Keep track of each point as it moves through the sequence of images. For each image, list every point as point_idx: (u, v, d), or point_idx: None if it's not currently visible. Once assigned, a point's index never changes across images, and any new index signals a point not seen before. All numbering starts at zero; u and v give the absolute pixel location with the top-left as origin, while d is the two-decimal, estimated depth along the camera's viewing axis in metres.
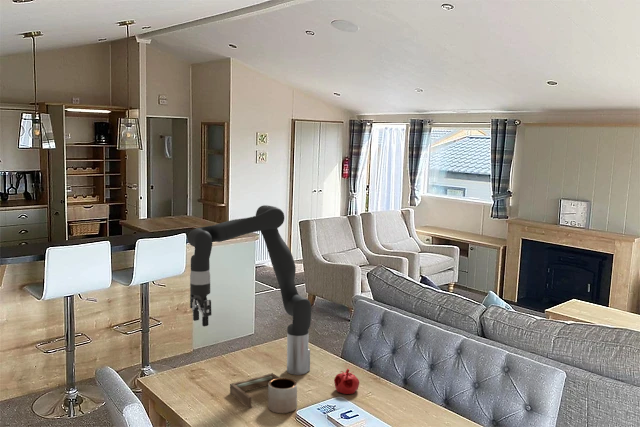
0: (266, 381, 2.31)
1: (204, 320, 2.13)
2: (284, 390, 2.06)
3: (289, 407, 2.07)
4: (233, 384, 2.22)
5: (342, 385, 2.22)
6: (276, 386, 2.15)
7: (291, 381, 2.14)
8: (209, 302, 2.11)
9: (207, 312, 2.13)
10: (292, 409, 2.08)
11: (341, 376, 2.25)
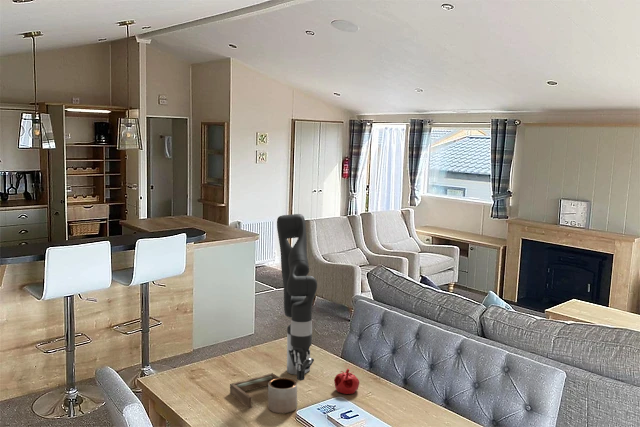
0: (266, 381, 2.31)
1: (300, 374, 1.99)
2: (284, 390, 2.06)
3: (289, 407, 2.07)
4: (233, 384, 2.22)
5: (342, 385, 2.22)
6: (276, 386, 2.15)
7: (291, 381, 2.14)
8: (311, 361, 1.95)
9: None
10: (292, 409, 2.08)
11: (341, 376, 2.25)
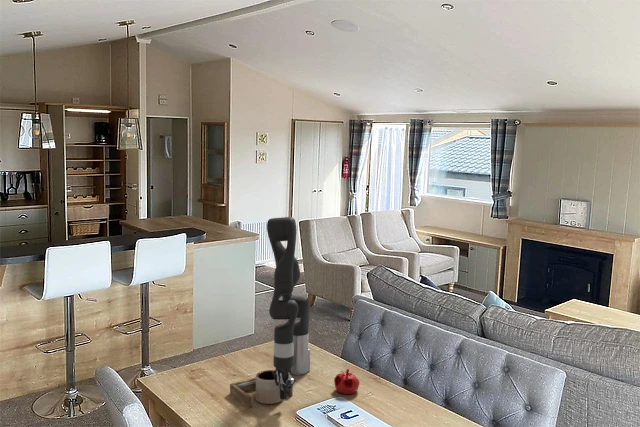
0: None
1: (283, 394, 2.09)
2: (271, 382, 2.13)
3: (276, 398, 2.14)
4: (233, 384, 2.22)
5: (342, 385, 2.22)
6: (264, 378, 2.22)
7: None
8: (293, 382, 2.06)
9: None
10: (279, 400, 2.15)
11: (341, 376, 2.25)
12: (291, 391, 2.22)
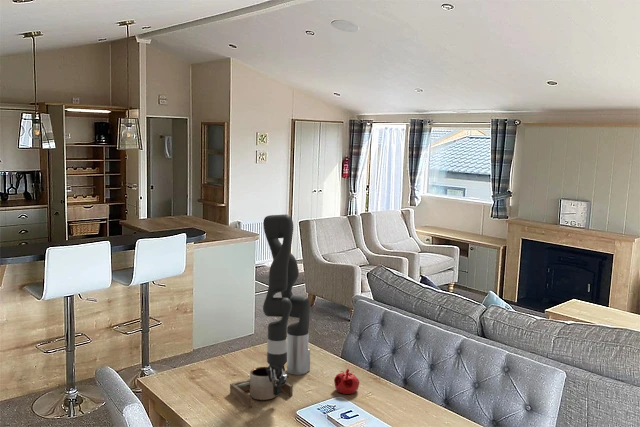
0: None
1: (276, 390, 2.13)
2: (264, 378, 2.16)
3: (270, 394, 2.17)
4: (233, 384, 2.22)
5: (342, 385, 2.22)
6: (258, 375, 2.25)
7: None
8: (286, 378, 2.09)
9: None
10: (273, 396, 2.18)
11: (341, 376, 2.25)
12: (291, 391, 2.22)
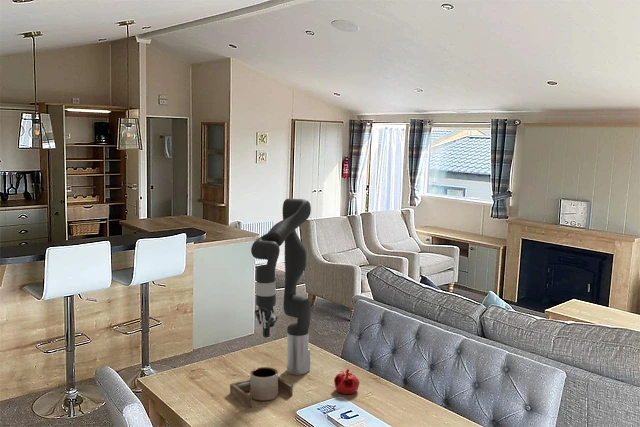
0: None
1: (266, 331, 2.15)
2: (265, 379, 2.16)
3: (270, 395, 2.17)
4: (233, 384, 2.22)
5: (342, 385, 2.22)
6: (258, 375, 2.25)
7: (272, 370, 2.24)
8: (275, 319, 2.12)
9: None
10: (273, 397, 2.18)
11: (341, 376, 2.25)
12: (291, 391, 2.22)
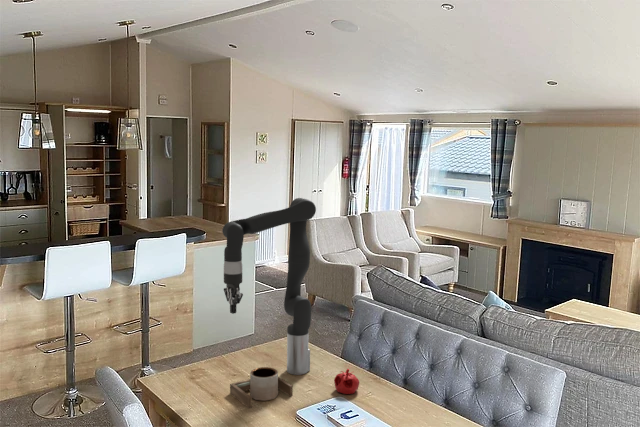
0: None
1: (232, 308, 2.31)
2: (265, 379, 2.16)
3: (270, 395, 2.17)
4: (233, 384, 2.22)
5: (342, 385, 2.22)
6: (258, 375, 2.25)
7: (272, 370, 2.24)
8: (241, 296, 2.27)
9: None
10: (273, 397, 2.18)
11: (341, 376, 2.25)
12: (291, 391, 2.22)
